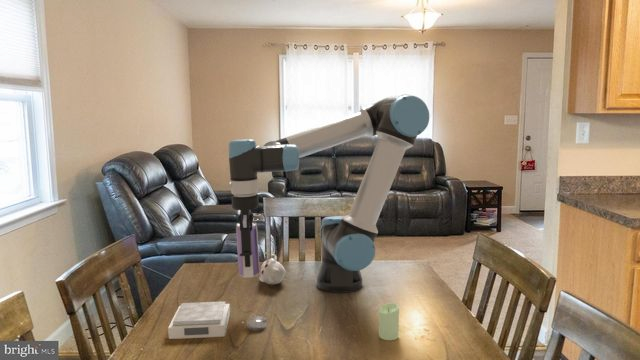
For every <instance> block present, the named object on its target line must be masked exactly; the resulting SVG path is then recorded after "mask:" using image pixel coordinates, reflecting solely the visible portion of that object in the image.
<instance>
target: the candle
mask: <svg viewBox="0 0 640 360" xmlns="http://www.w3.org/2000/svg"><path fill="white" fill-rule="evenodd" d="M399 314H400V306H399V304H398V303H396V302H387V303H385V304H383V305H382V306H380V308H379V309H378V337H379V338H380V339H382V340H383V341H384V340H385V341H395V340H396V339H398V338H399V327H400V326H399V322H400V321H399V320H400V318H399V317H400V315H399Z"/></svg>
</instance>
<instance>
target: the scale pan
mask: <svg viewBox="0 0 640 360" xmlns="http://www.w3.org/2000/svg"><path fill="white" fill-rule="evenodd" d="M226 304H227V303H226V301H205V302H204V301H202V302H201V301H200V302H182V303H181V304H180V305H179V306H180V308H179V307H178V308H179V310H178V309H177V310H178V312H177V314H176V316H175V318H174V320H173V325H192V324H215V323H221V320H222V316H223V313H224V309H225V305H226Z"/></svg>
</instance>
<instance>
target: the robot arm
mask: <svg viewBox="0 0 640 360" xmlns="http://www.w3.org/2000/svg"><path fill="white" fill-rule="evenodd" d="M429 123H430V111H429V108H428V106H427V104H426V102H425V101H424V100H422V98H420V97H418V96H416V95H411V94H401V95H391V96H387V97H385V98H383V99H381V100H378V101H376V102H374V103H371V104H369V105H367V106H364V107H362V108H360V109H359V111H358V112H357V113H353V114H351V115H348V116H344V117H342V118H341V117H340V118H339V119H336V120H333V121H330V122H327V123H324V124H321V125H318V126H315V127H313V128H310V129H307V130H303V131H301V132H298V133H295V134H292V135H288V136H286V137H284V138H280V139H277V140H273V141H271V140H270V141H268V142H266V143H265V144H263V145H257V144H256V140H255V139H250V138H249V139H242V138H241V139H232V140H231V141H230V142H229V143H228V163H229V165H228V166H229V176H230V177H229V178H230V182H229V183H228V186H229V188H230V191H231V194H232V196H231V207H232V209H233V210H235V211H240V213H239V214H238V223H240V231H241V244H242V254H240V256H243V273H244V277H243V278H245V279H246V278H254V277H255V276H254V275H253V257H252V251H251V230H252V223H253V222H254V213H253V211H252V210H256V209H257V208H258V207H259V206H260V203H259V195H258V194H257V193H259V182H258V181H259V180H258V174H259V173H260V174H261V173H273V172H274V173H276V172H279V173H280V172H286V173H287V172H292V171H297V170H298V169H299V166H300V158H305V157H306V156H309V155H312V154H316V153H318V152H322V151H324V150H327V149H330V148H333V147H336V146H339V145H341V144H345V143H347V142H350V141H353V140H356V139H359V138H363V137H366V136H368V138H369V137H370V138H372V137H374V136H375V137H376V136H377V139H378V140H377V142H376V146H375V147H374V150H373V153H372V155H371V158H370V160H369V164H368V165H367V168H366V171H365V172H364V175H363V177H362V180H361V182H360V185H359V188H358V190H357V193H356V195H355V198H354V200H353V203H352V204H351V208H350V210H349V212H348V214H346V215H333V216H332V215H331V216H325V217H324V218H322V219H321V226H320V228H321V262H320V263H321V264H320V267H319V269H318V272H317V276H316V286H317V288H318V289H321V290H322V291H326V292H331V293H350V292H355V291H357V290H359V289H361V288H362V287H363V276H362V274H361V270H362V271H363V270H364V269H366V268H367V267H369V266H370V265H371V264H372V262H373V260H374V258H375V255H376V246H375V241H376V238H377V237H378V233H379V231H378V227H377V222H378V220H379V217H380V215H381V212H382V209H383V207H384V205H385V202H386V199H387V197H388V194H389V192H390V190H391V188H392V185H393V182H394V180H395V178H396V175H397V173H398V170H399V167H400V166H401V163H402V160H403V157H404V155H405V154H406V151H407V150H408V149H410V148H411V149H412V147H414V145H415V142H416V140H417V137H418V136H419V135H421V134H422V133H423V132H425V131H426V129H427V127H428V125H429Z"/></svg>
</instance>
